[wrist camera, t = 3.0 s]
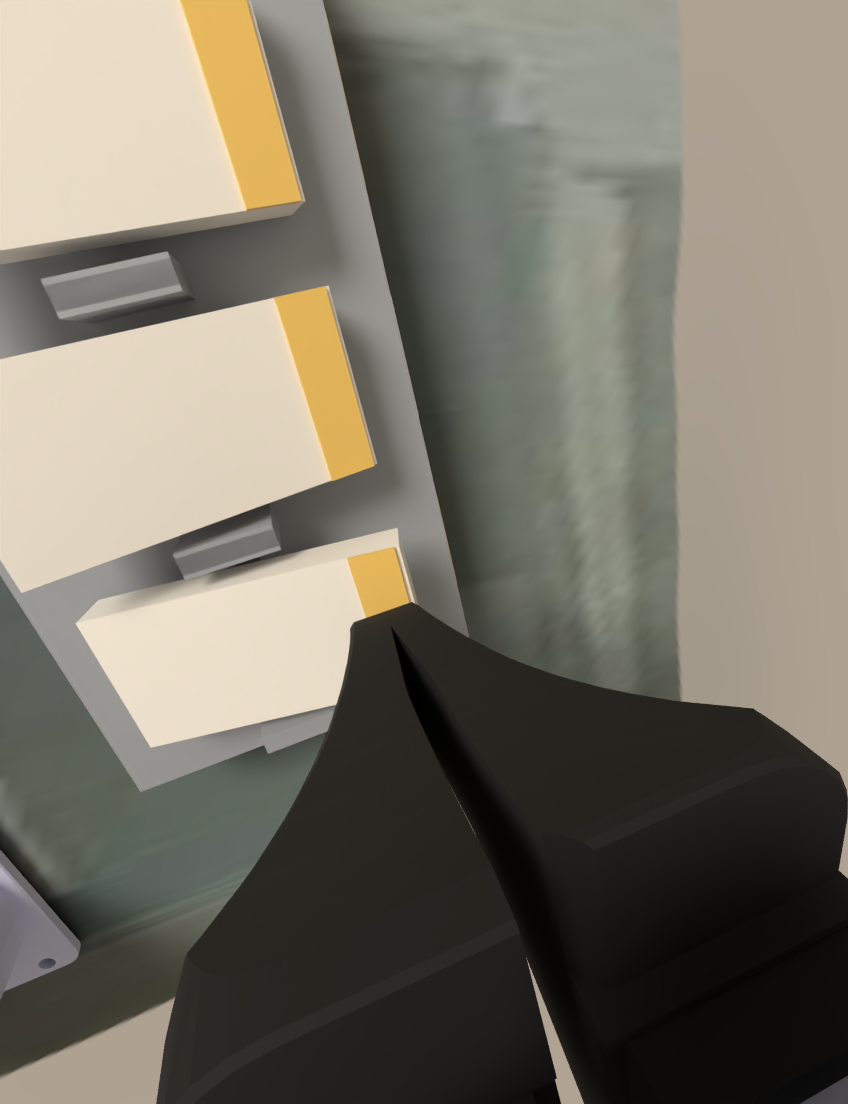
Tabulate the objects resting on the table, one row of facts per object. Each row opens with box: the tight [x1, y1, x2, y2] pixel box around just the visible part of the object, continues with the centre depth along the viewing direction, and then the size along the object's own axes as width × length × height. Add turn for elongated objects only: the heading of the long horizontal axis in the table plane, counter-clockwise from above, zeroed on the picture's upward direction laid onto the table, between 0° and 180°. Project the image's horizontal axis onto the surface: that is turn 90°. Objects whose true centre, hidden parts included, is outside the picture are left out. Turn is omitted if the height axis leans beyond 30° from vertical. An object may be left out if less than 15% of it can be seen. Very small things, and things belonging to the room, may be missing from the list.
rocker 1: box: [0, 0, 305, 265], centre depth 8 cm, size 7×4×1 cm, turn 105°
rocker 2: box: [0, 286, 377, 593], centre depth 10 cm, size 7×4×1 cm, turn 105°
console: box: [0, 0, 469, 792], centre depth 12 cm, size 10×18×5 cm, turn 14°
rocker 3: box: [75, 528, 418, 748], centre depth 12 cm, size 7×4×1 cm, turn 104°
